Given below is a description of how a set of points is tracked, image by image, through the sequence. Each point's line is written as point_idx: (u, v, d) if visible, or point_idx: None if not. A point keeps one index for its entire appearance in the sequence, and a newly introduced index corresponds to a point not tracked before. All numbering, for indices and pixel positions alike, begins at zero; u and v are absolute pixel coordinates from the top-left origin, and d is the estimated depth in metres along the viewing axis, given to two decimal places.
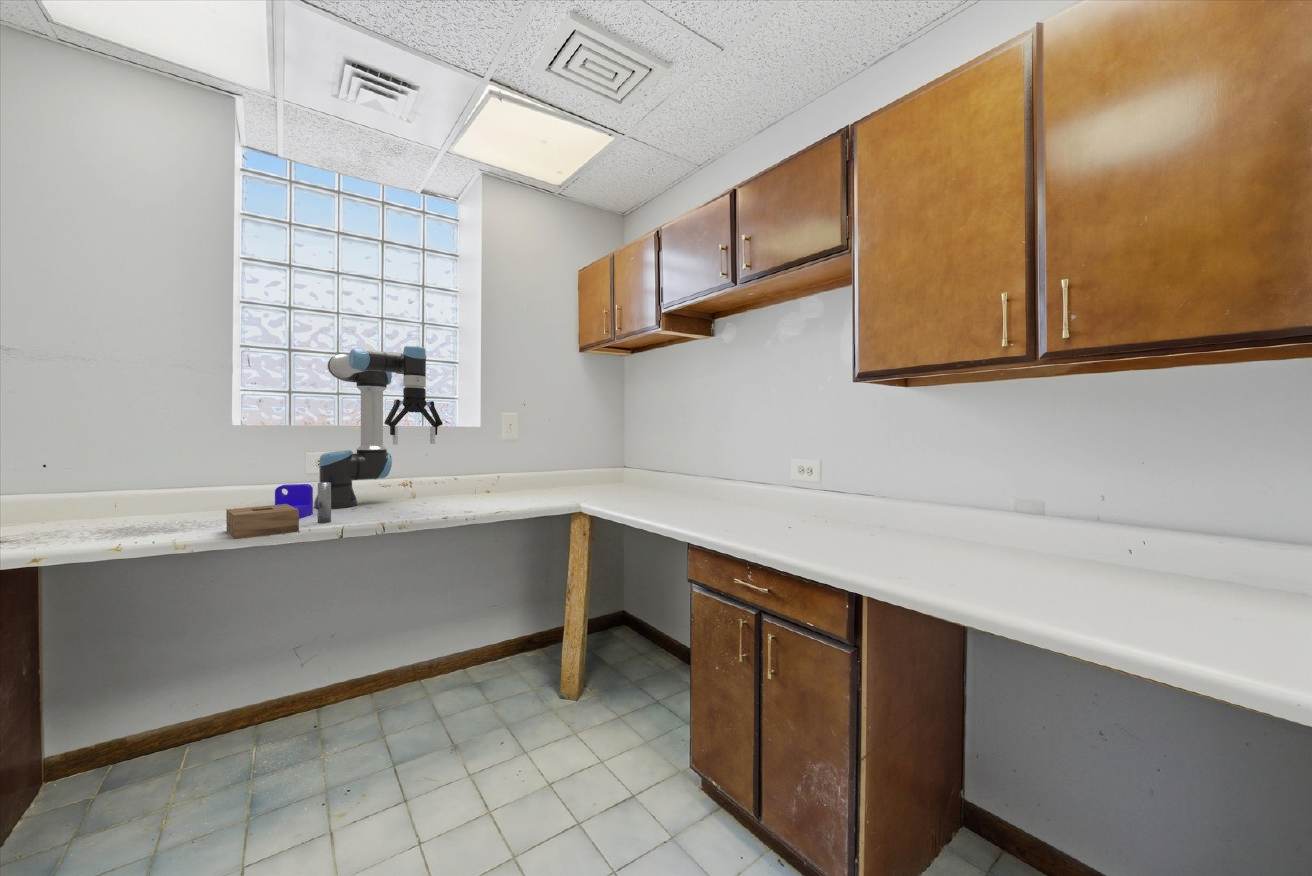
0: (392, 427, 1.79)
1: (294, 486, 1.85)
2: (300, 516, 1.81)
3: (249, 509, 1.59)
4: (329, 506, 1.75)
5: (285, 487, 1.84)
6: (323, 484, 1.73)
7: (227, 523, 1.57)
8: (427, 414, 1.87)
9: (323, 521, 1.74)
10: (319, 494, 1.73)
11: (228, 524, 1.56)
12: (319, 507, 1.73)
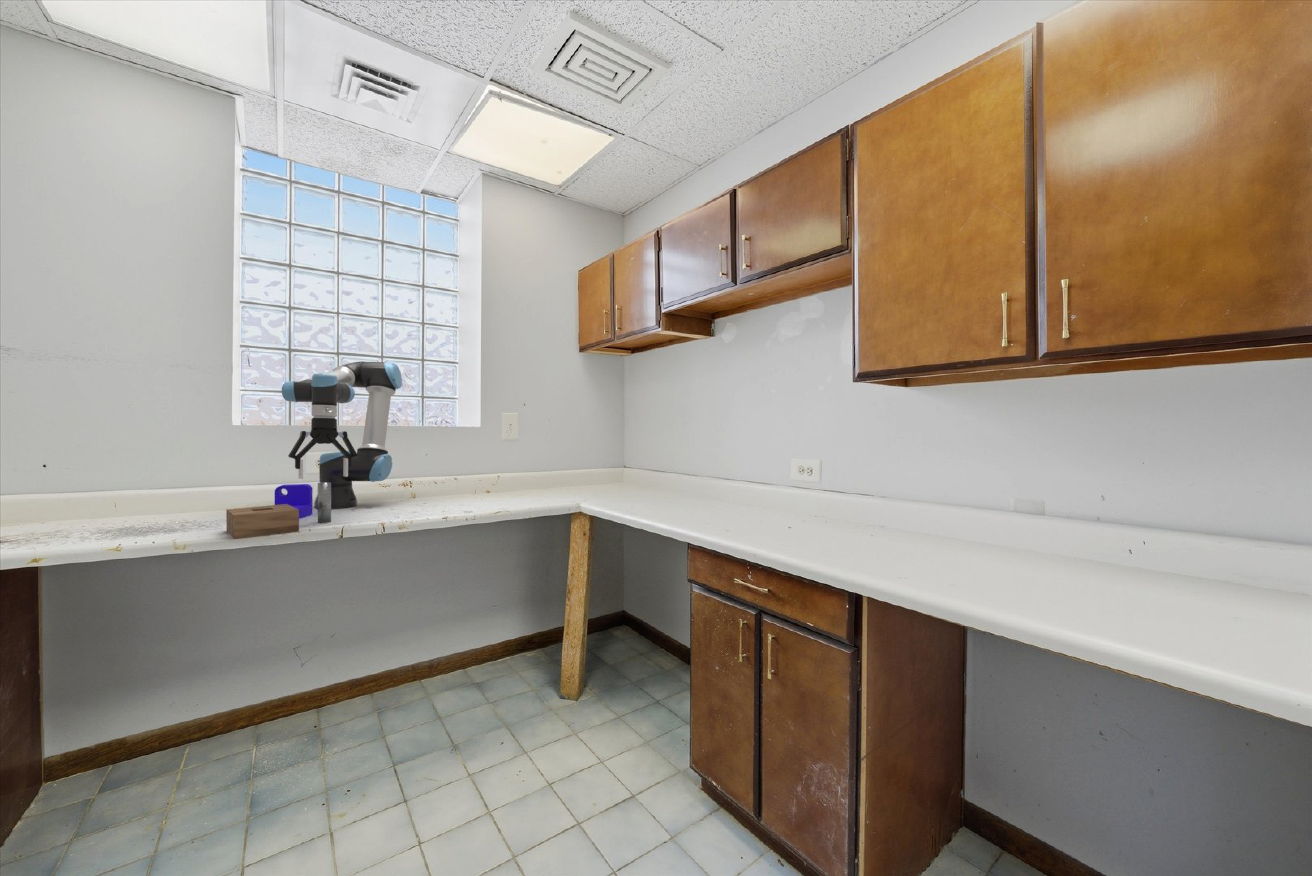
0: (297, 460, 1.68)
1: (294, 486, 1.85)
2: (300, 516, 1.81)
3: (249, 509, 1.59)
4: (329, 506, 1.75)
5: (285, 487, 1.84)
6: (323, 484, 1.73)
7: (227, 523, 1.57)
8: (339, 445, 1.77)
9: (323, 521, 1.74)
10: (319, 494, 1.73)
11: (228, 524, 1.56)
12: (319, 507, 1.73)
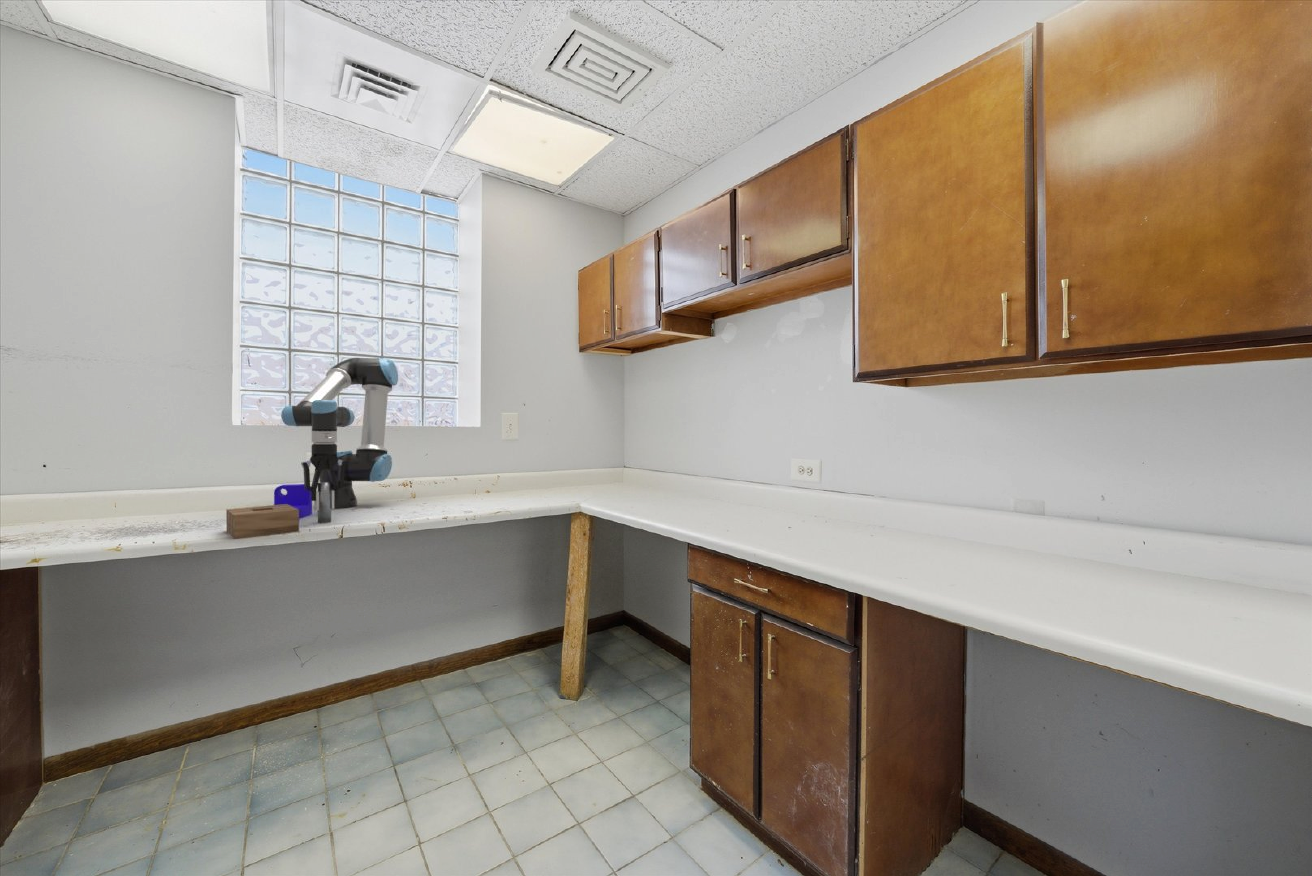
0: (313, 492, 1.72)
1: (293, 486, 1.85)
2: (300, 516, 1.81)
3: (249, 509, 1.59)
4: (329, 506, 1.75)
5: (284, 487, 1.84)
6: (323, 484, 1.73)
7: (227, 523, 1.57)
8: (332, 474, 1.76)
9: (323, 521, 1.74)
10: (319, 494, 1.73)
11: (228, 524, 1.56)
12: (319, 507, 1.73)
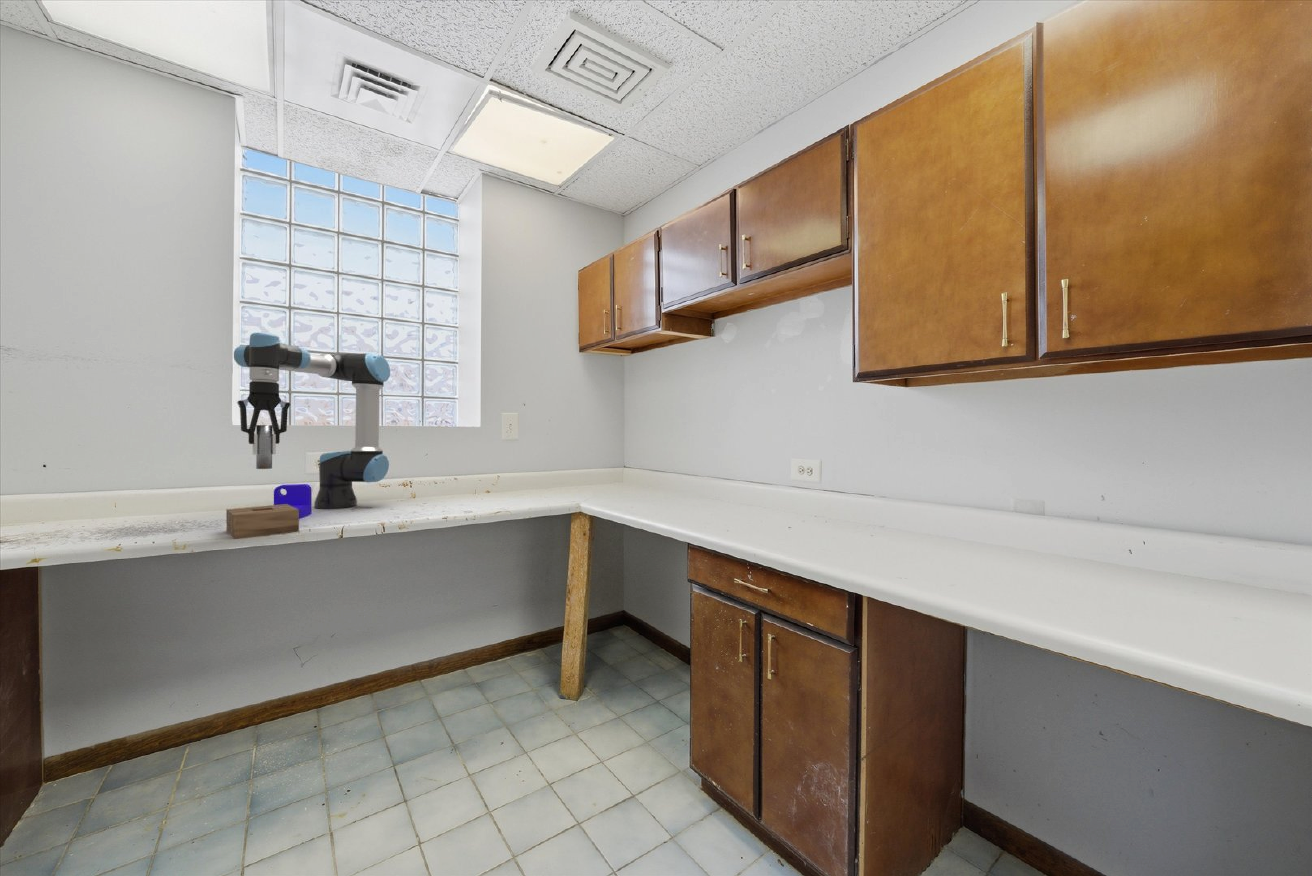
0: (250, 435, 1.56)
1: (293, 486, 1.85)
2: (299, 516, 1.81)
3: (249, 509, 1.59)
4: (269, 451, 1.59)
5: (284, 487, 1.84)
6: (262, 426, 1.57)
7: (227, 523, 1.57)
8: (273, 415, 1.60)
9: (262, 467, 1.57)
10: (258, 437, 1.57)
11: (228, 524, 1.56)
12: (258, 451, 1.57)
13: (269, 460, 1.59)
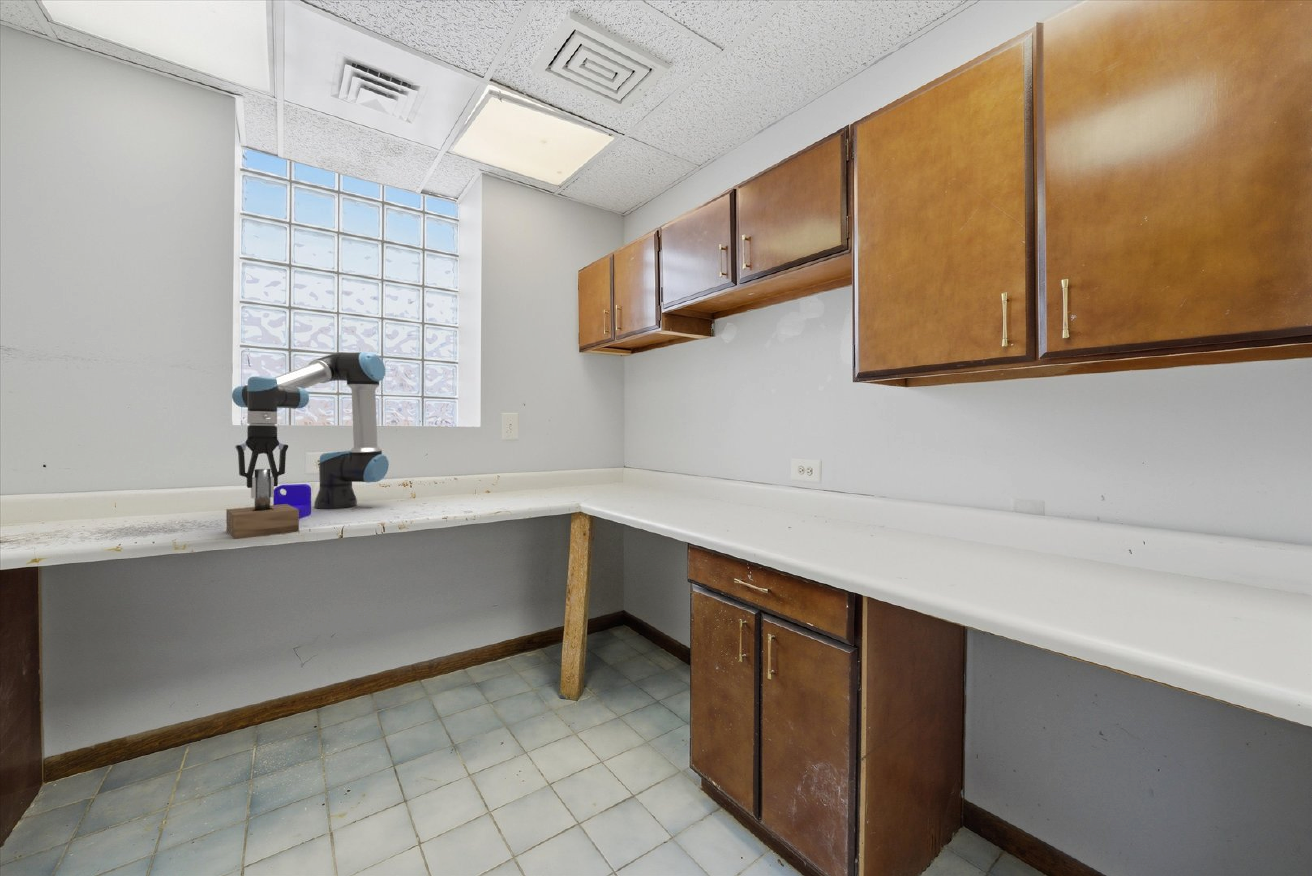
0: (248, 479, 1.56)
1: (293, 486, 1.85)
2: (299, 516, 1.81)
3: (249, 509, 1.59)
4: (268, 495, 1.59)
5: (284, 487, 1.84)
6: (260, 470, 1.57)
7: (227, 523, 1.57)
8: (271, 459, 1.60)
9: None
10: (256, 481, 1.57)
11: (228, 524, 1.56)
12: (256, 496, 1.57)
13: (267, 504, 1.59)
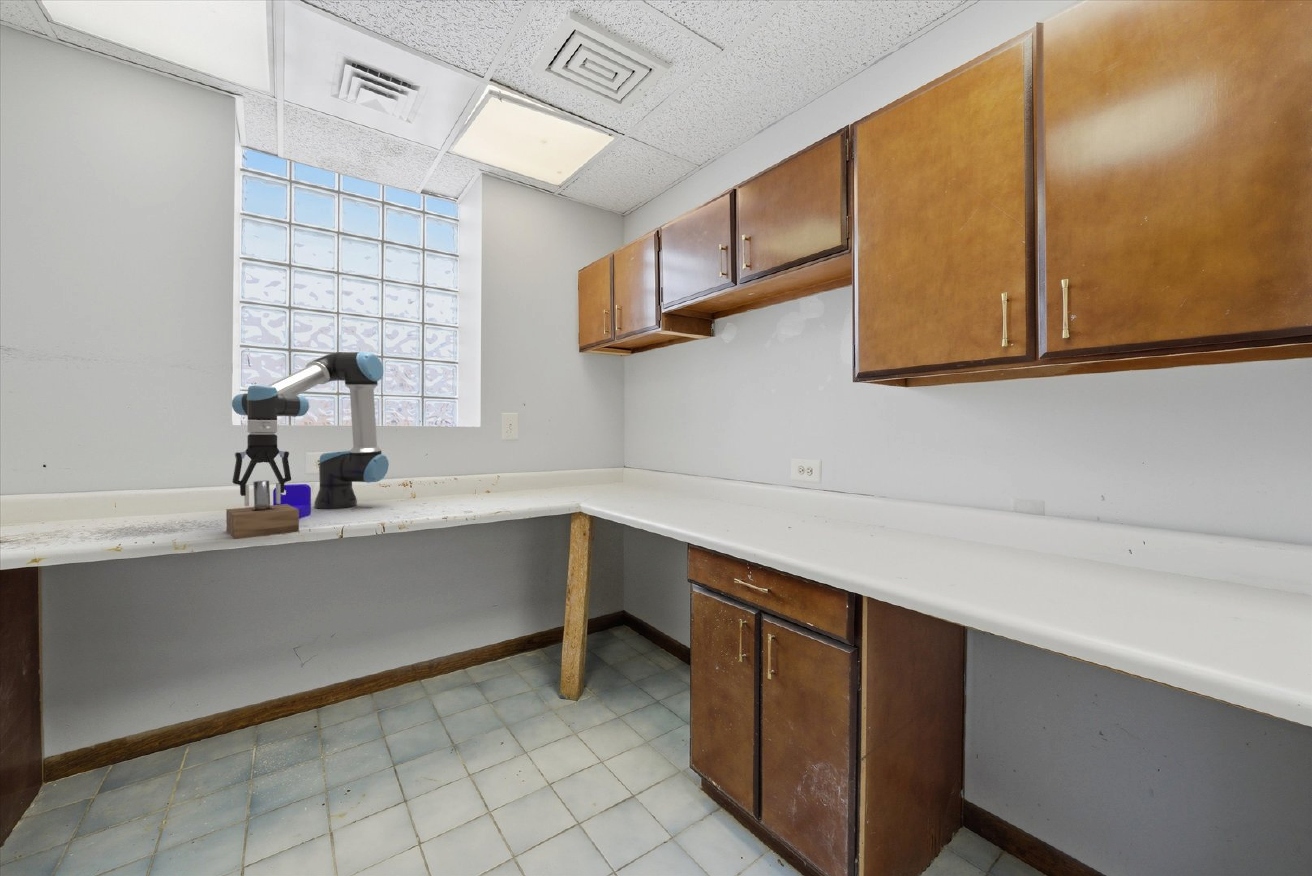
0: (242, 486, 1.55)
1: (292, 486, 1.85)
2: (299, 516, 1.81)
3: (249, 509, 1.59)
4: (267, 507, 1.59)
5: None
6: (259, 483, 1.57)
7: (227, 523, 1.57)
8: (275, 466, 1.60)
9: None
10: (255, 494, 1.57)
11: (228, 524, 1.56)
12: (256, 508, 1.57)
13: None
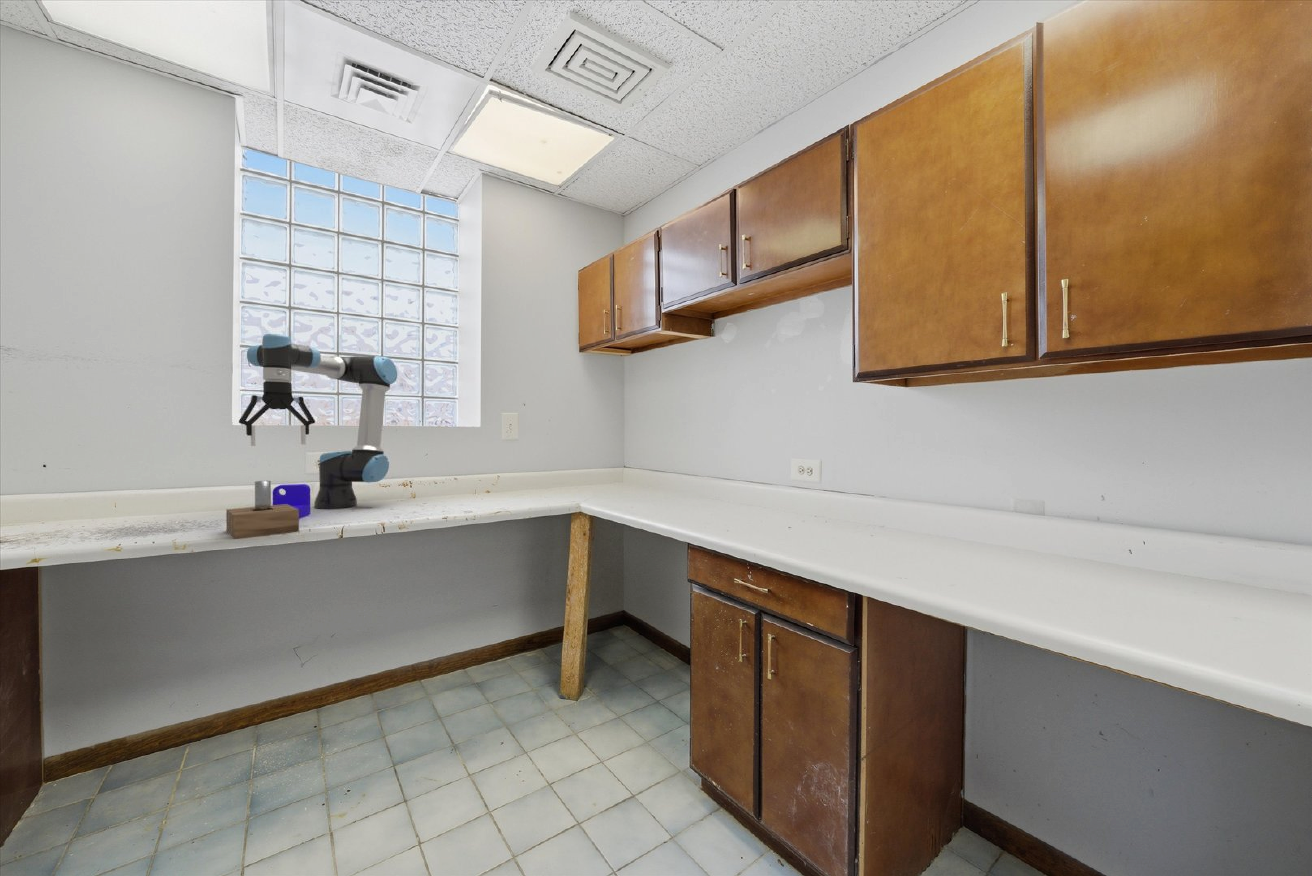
0: (248, 426, 1.58)
1: (292, 486, 1.85)
2: (299, 516, 1.81)
3: (249, 509, 1.59)
4: (268, 507, 1.59)
5: (283, 487, 1.83)
6: (261, 483, 1.57)
7: (227, 523, 1.57)
8: (294, 411, 1.67)
9: None
10: (256, 494, 1.57)
11: (228, 524, 1.56)
12: (256, 508, 1.57)
13: None
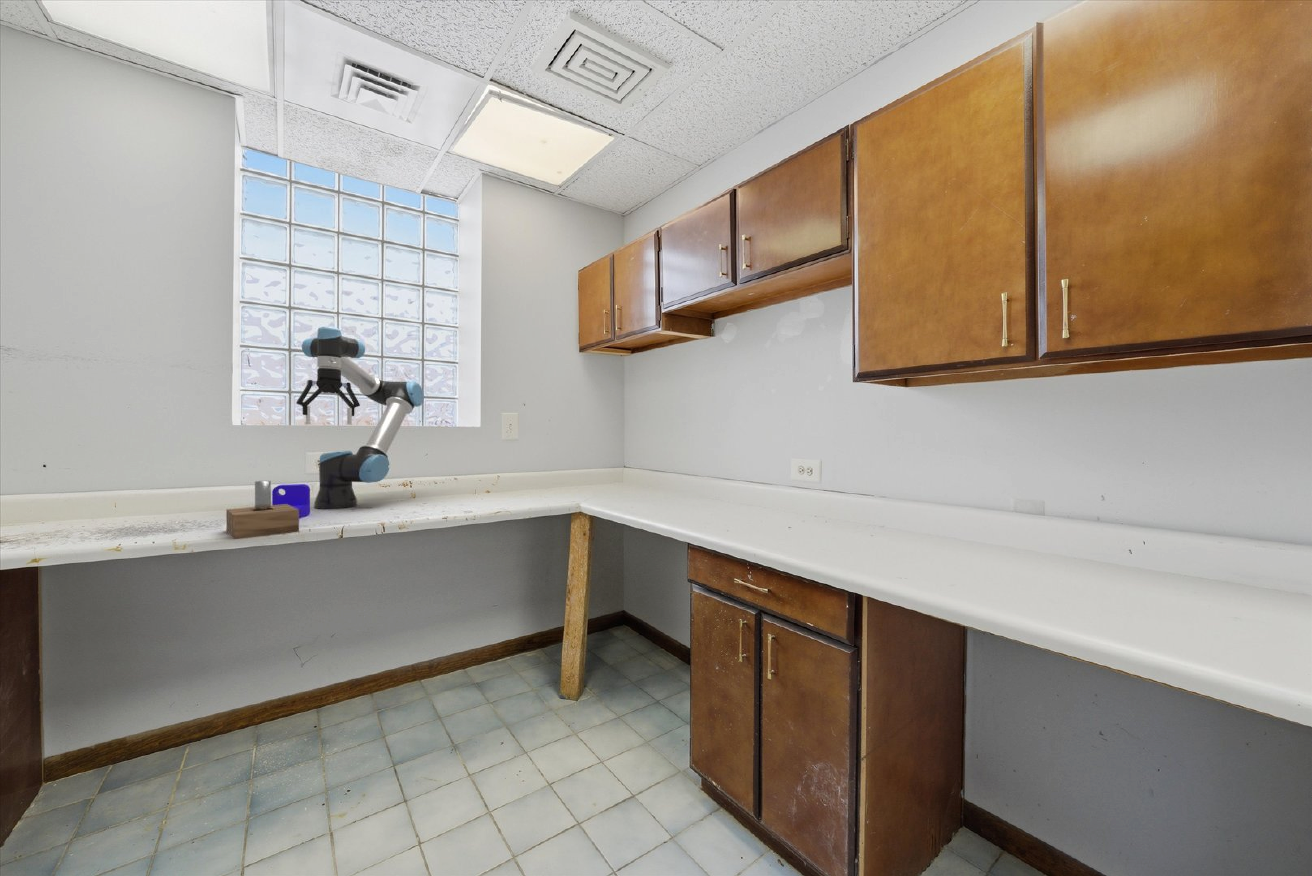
0: (304, 407, 1.81)
1: (292, 486, 1.85)
2: (299, 516, 1.81)
3: (249, 509, 1.59)
4: (268, 507, 1.59)
5: (283, 487, 1.83)
6: (261, 483, 1.57)
7: (227, 523, 1.57)
8: (343, 395, 1.90)
9: None
10: (256, 494, 1.57)
11: (228, 524, 1.56)
12: (256, 508, 1.57)
13: None
